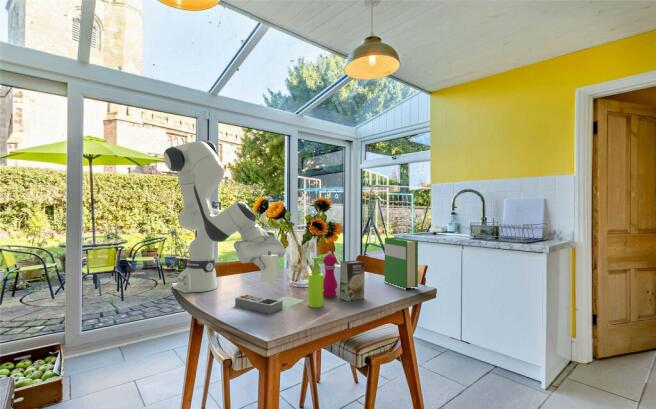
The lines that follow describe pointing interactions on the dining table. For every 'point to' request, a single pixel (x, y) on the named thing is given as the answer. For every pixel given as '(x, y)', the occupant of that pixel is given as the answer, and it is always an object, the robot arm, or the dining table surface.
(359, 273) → the coffee box
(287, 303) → the rubber mat
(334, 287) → the pepper mill
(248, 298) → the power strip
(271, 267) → the white pillar candle
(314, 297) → the soap dispenser
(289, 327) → the dining table surface
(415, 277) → the hardback book
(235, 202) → the robot arm
